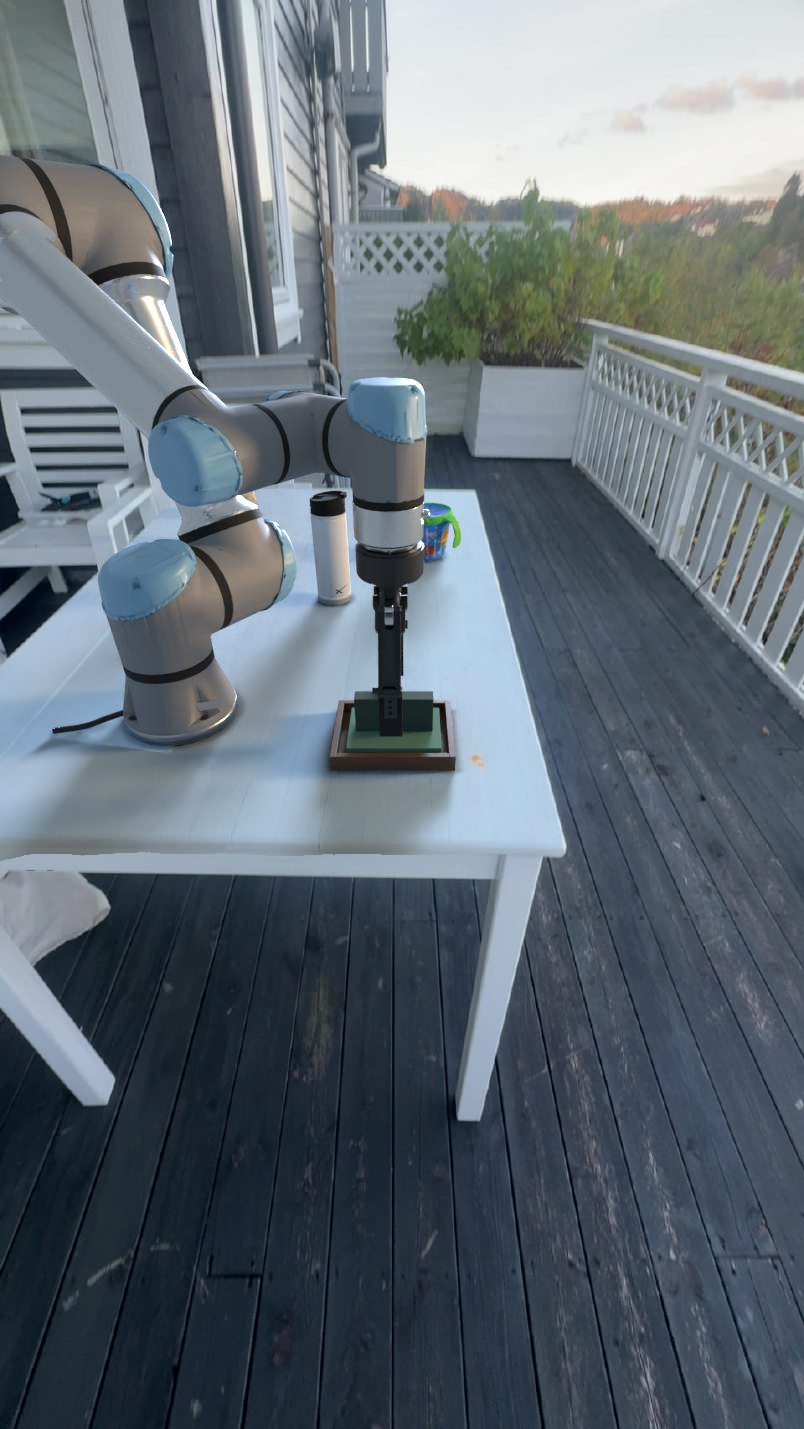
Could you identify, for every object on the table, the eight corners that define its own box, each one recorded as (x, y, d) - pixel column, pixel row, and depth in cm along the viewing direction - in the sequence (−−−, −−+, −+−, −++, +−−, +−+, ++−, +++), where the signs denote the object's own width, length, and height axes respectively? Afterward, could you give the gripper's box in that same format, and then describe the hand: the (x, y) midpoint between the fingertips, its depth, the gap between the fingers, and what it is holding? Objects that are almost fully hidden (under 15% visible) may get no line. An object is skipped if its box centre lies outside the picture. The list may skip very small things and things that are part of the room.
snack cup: (384, 554, 138) (383, 507, 132) (416, 541, 145) (416, 496, 139) (439, 572, 130) (440, 523, 124) (470, 557, 136) (472, 510, 130)
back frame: (330, 770, 78) (329, 757, 77) (339, 712, 89) (338, 700, 87) (455, 770, 78) (455, 756, 77) (449, 712, 88) (450, 699, 87)
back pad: (346, 757, 79) (343, 715, 76) (352, 716, 87) (349, 676, 83) (441, 757, 79) (442, 715, 75) (438, 716, 86) (439, 676, 83)
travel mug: (348, 607, 116) (340, 498, 105) (314, 604, 117) (303, 496, 106) (356, 593, 121) (350, 488, 110) (324, 591, 122) (314, 486, 111)
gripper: (426, 588, 57) (423, 765, 70) (422, 505, 78) (420, 653, 90) (345, 588, 58) (356, 765, 70) (362, 505, 78) (368, 653, 90)
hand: (392, 702), depth 80 cm, fingers open, 13 cm apart
